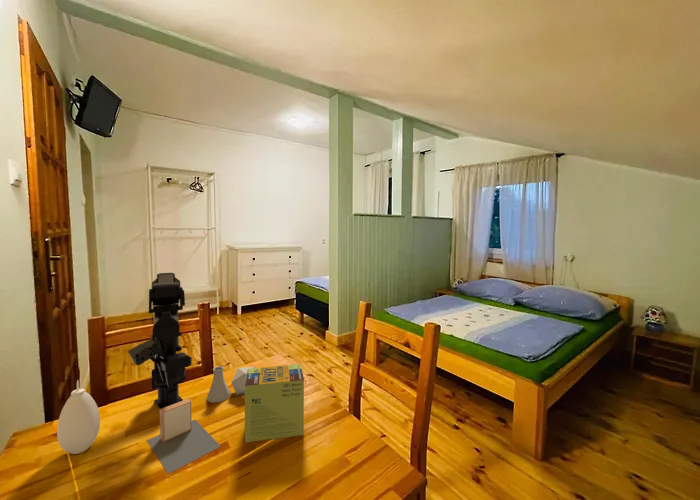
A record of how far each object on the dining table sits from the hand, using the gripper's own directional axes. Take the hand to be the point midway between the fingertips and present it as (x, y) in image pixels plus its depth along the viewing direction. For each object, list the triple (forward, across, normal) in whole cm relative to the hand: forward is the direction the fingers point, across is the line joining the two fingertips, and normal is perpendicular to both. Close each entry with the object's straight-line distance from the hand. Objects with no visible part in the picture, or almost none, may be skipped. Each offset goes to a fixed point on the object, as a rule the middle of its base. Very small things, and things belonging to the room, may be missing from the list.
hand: (167, 384), depth 84 cm
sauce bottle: (+12, -5, -18) cm, 22 cm away
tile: (+12, +6, 0) cm, 13 cm away
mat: (+12, +11, 0) cm, 16 cm away
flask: (+12, -4, +16) cm, 21 cm away
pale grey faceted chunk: (+12, -1, +24) cm, 27 cm away
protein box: (+12, +22, +20) cm, 32 cm away
